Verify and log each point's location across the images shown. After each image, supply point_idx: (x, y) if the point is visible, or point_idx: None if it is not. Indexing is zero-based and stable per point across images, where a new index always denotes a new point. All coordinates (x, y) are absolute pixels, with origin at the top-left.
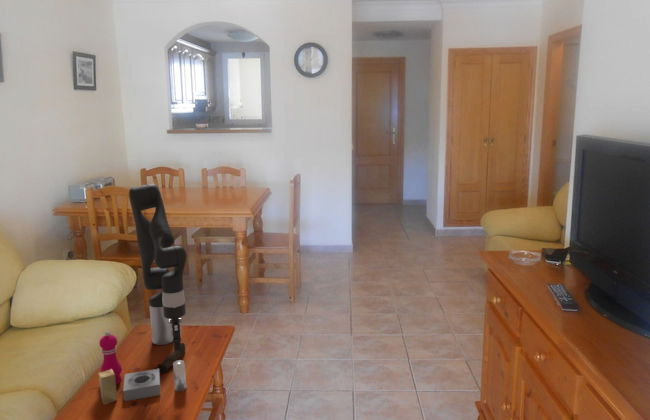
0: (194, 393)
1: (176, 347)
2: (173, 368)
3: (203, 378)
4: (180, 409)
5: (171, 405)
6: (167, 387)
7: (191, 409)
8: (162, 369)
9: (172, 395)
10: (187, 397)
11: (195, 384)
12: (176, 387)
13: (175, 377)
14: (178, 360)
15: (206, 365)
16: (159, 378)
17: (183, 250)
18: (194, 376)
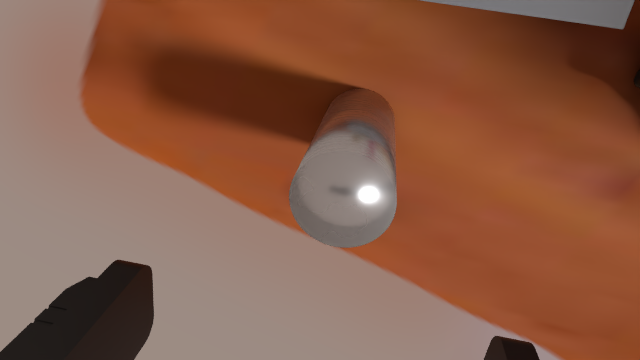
0: (266, 177)
1: (45, 323)
2: (340, 137)
3: (403, 259)
4: (133, 72)
5: (190, 32)
6: (417, 49)
7: (116, 125)
8: None
9: (300, 60)
10: (240, 134)
11: None
12: (336, 101)
13: (329, 121)
14: (394, 211)
15: (545, 313)
16: (443, 3)
17: None
18: (456, 225)
